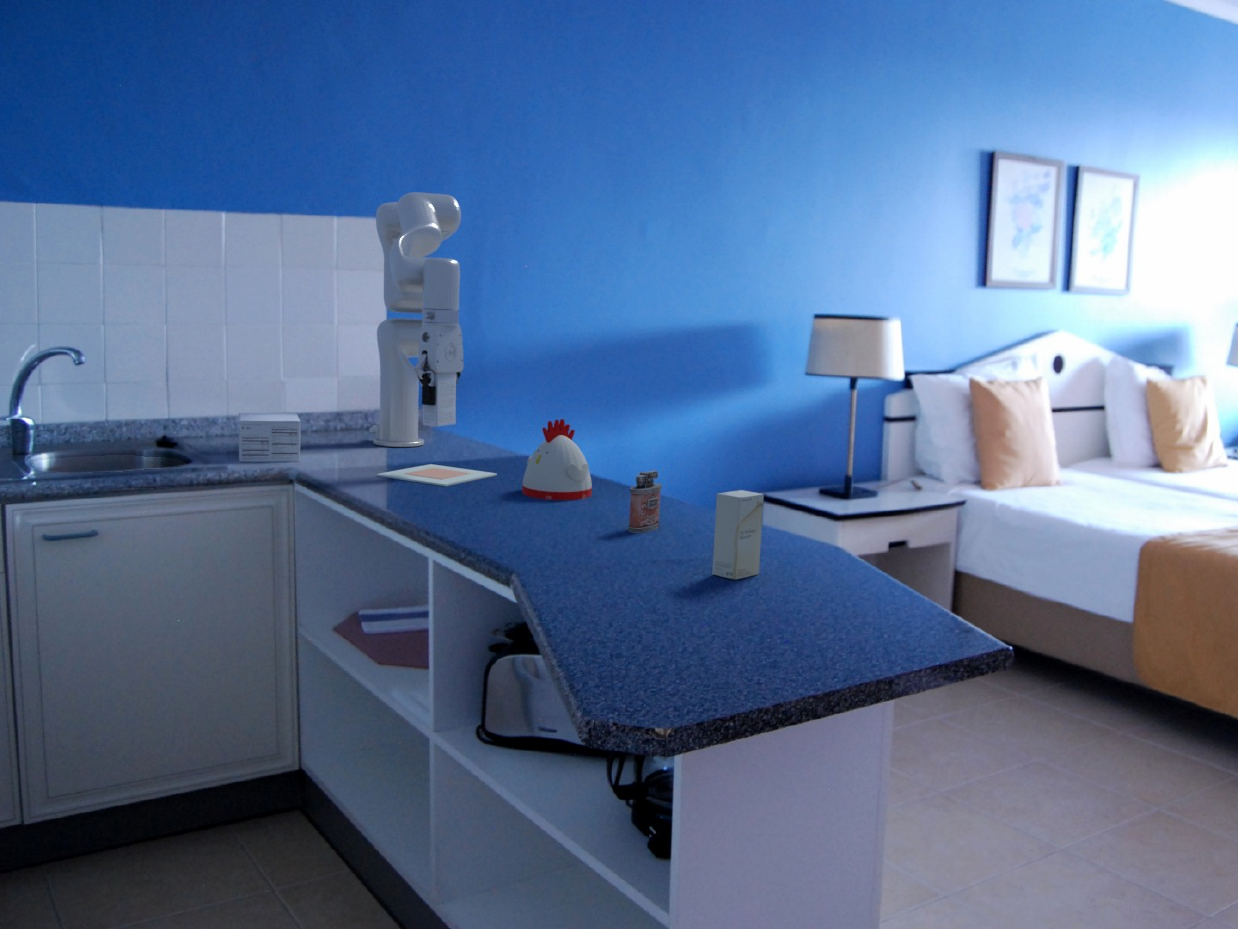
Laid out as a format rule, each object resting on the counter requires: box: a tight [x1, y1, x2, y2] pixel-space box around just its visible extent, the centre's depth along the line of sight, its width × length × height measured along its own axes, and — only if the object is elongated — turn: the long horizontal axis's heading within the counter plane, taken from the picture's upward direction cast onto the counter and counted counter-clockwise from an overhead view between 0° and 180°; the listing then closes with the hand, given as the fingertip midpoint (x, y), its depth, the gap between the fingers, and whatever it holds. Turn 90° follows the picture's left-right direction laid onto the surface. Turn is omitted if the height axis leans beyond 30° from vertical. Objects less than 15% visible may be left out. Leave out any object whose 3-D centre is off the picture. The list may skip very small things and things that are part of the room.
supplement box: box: [238, 412, 301, 463], centre depth 244 cm, size 17×13×9 cm
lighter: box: [627, 470, 663, 534], centre depth 185 cm, size 8×3×10 cm, turn 148°
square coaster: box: [376, 463, 498, 487], centre depth 229 cm, size 18×18×1 cm
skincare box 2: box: [711, 489, 765, 580], centre depth 156 cm, size 6×4×12 cm
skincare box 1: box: [422, 369, 457, 427], centre depth 226 cm, size 6×4×12 cm
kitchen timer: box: [521, 418, 593, 501], centre depth 214 cm, size 14×14×15 cm
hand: (439, 403), depth 226 cm, fingers closed on skincare box 1, 6 cm apart
